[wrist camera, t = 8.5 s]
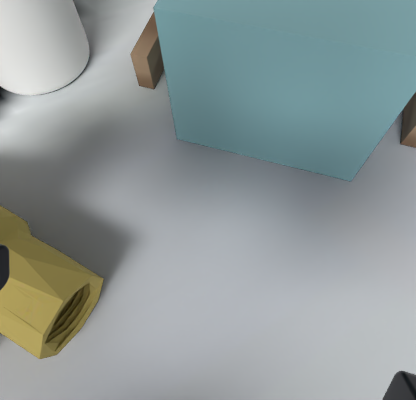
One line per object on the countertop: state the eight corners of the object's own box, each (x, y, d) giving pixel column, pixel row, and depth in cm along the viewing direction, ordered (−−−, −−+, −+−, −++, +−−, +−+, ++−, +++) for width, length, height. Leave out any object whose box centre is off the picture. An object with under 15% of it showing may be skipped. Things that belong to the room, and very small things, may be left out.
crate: (350, 182, 23) (437, 60, 14) (177, 139, 25) (153, 7, 16) (366, 81, 26) (442, -67, 17) (213, 51, 28) (212, -98, 19)
